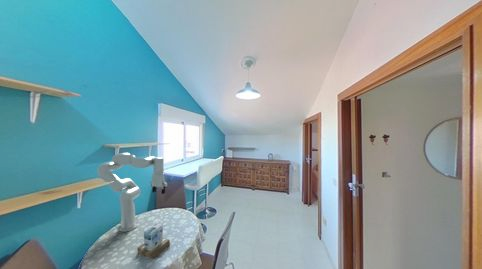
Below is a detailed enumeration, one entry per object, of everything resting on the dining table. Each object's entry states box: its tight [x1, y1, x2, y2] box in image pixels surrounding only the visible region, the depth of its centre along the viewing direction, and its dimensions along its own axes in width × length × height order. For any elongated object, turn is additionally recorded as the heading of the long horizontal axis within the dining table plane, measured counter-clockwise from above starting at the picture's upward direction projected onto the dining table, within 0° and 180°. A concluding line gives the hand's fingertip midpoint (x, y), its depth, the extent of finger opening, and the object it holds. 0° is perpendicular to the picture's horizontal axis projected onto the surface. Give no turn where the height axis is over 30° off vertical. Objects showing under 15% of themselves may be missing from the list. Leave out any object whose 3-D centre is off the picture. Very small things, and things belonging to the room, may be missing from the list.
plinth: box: [137, 237, 171, 260], centre depth 117 cm, size 14×14×4 cm
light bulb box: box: [143, 223, 164, 249], centre depth 117 cm, size 11×7×11 cm, turn 166°
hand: (158, 192), depth 140 cm, fingers open, 9 cm apart
